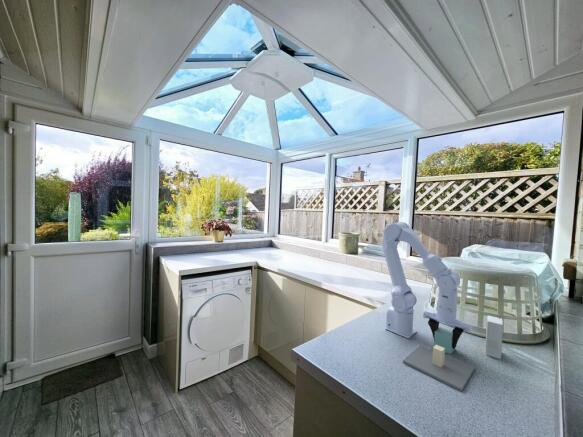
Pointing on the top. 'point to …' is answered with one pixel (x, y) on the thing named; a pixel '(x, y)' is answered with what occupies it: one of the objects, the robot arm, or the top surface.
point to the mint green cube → (444, 339)
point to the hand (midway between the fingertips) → (444, 343)
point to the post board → (441, 374)
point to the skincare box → (494, 336)
